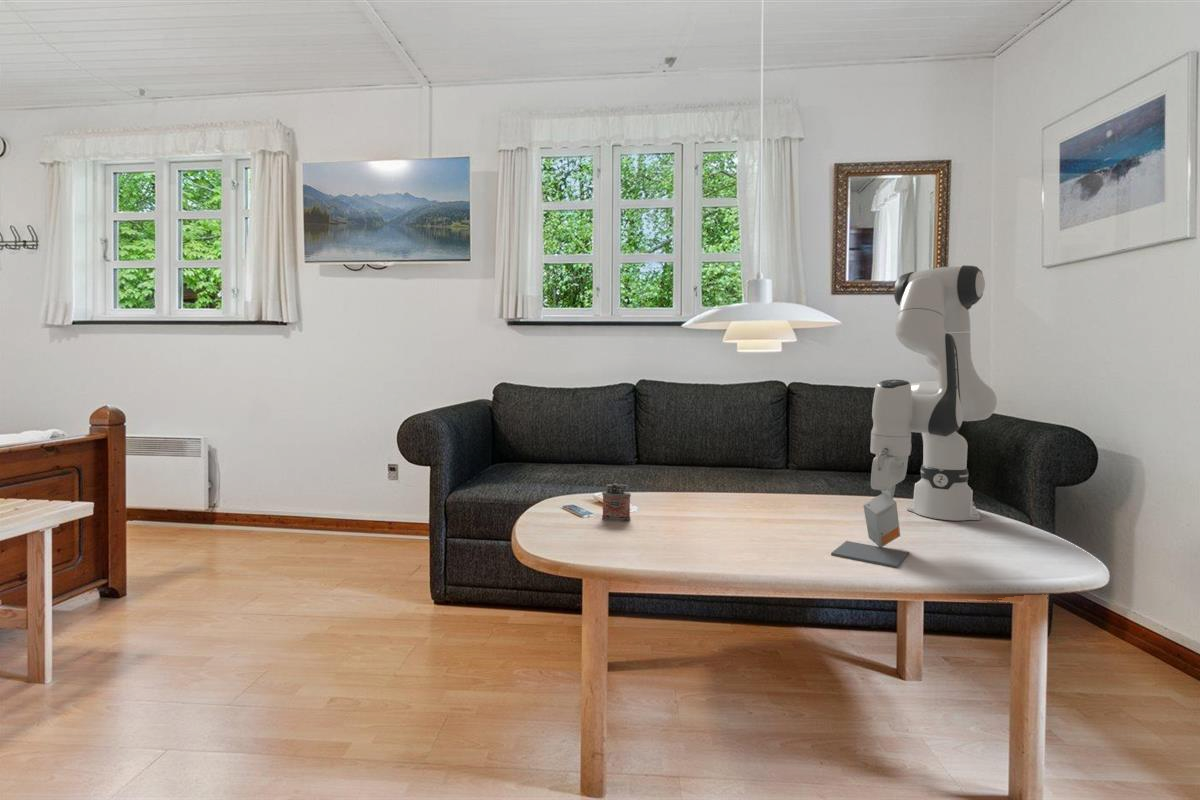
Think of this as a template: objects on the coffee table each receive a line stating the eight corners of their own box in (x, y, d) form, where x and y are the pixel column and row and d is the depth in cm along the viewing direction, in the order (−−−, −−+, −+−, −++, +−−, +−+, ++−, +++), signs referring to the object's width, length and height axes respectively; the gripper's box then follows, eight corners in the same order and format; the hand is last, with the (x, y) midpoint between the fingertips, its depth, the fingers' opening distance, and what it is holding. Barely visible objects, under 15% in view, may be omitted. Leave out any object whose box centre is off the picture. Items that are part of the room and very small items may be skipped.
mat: (846, 542, 150) (846, 540, 150) (909, 554, 142) (909, 552, 141) (831, 554, 141) (831, 552, 141) (897, 567, 132) (897, 565, 132)
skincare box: (881, 549, 146) (875, 514, 139) (868, 538, 149) (862, 504, 143) (901, 536, 146) (897, 501, 140) (888, 526, 150) (883, 491, 144)
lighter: (600, 519, 170) (600, 484, 169) (604, 516, 173) (604, 481, 173) (628, 522, 168) (629, 486, 167) (631, 519, 171) (632, 483, 170)
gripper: (894, 452, 138) (891, 512, 139) (913, 444, 154) (910, 498, 155) (865, 449, 142) (862, 508, 143) (886, 441, 158) (883, 494, 159)
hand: (887, 502), depth 149 cm, fingers closed
